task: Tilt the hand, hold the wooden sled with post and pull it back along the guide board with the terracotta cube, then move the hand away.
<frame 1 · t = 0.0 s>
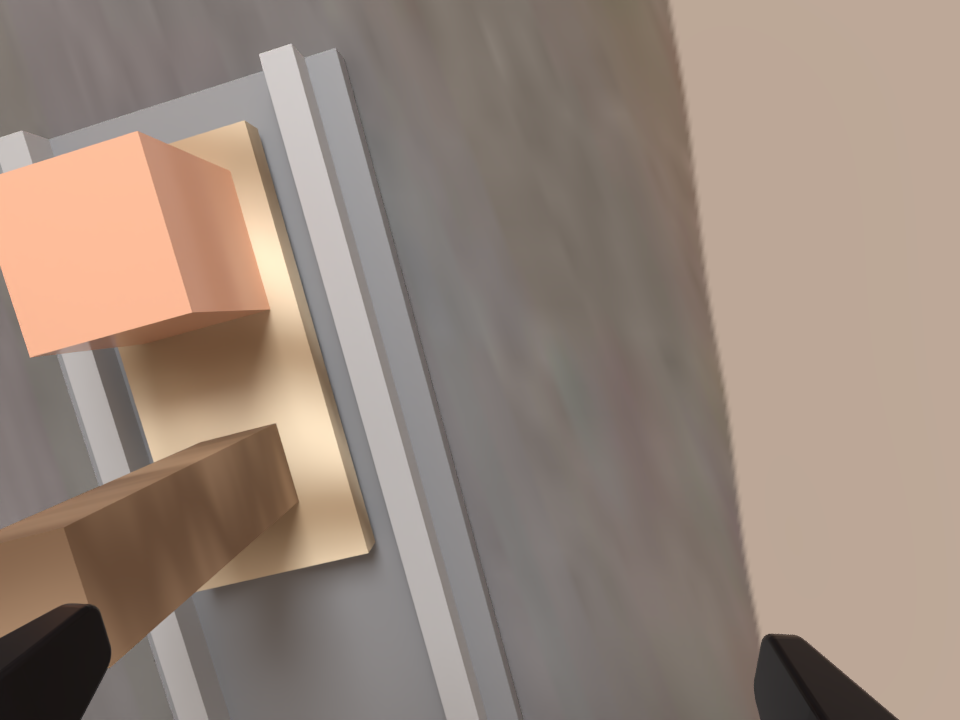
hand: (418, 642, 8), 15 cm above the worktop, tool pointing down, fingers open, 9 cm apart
terracotta cube: (186, 259, 21), point 2 cm above the worktop, touching wooden sled with post
guide board: (282, 478, 24), on the worktop
wooden sled with post: (137, 384, 17), point 7 cm above the worktop, slide at 10.0 cm, touching terracotta cube
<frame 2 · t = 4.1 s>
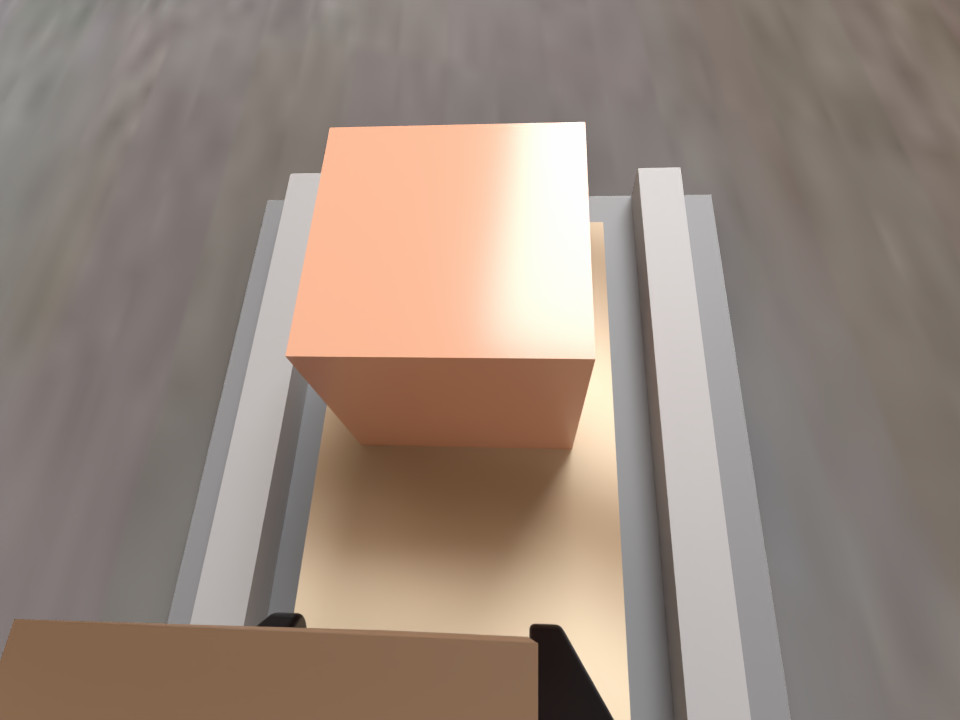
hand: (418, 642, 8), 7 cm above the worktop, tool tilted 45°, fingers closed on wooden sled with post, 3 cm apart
terracotta cube: (470, 351, 15), point 2 cm above the worktop, touching wooden sled with post
wooden sled with post: (434, 457, 9), point 7 cm above the worktop, slide at 10.0 cm, touching gripper, terracotta cube
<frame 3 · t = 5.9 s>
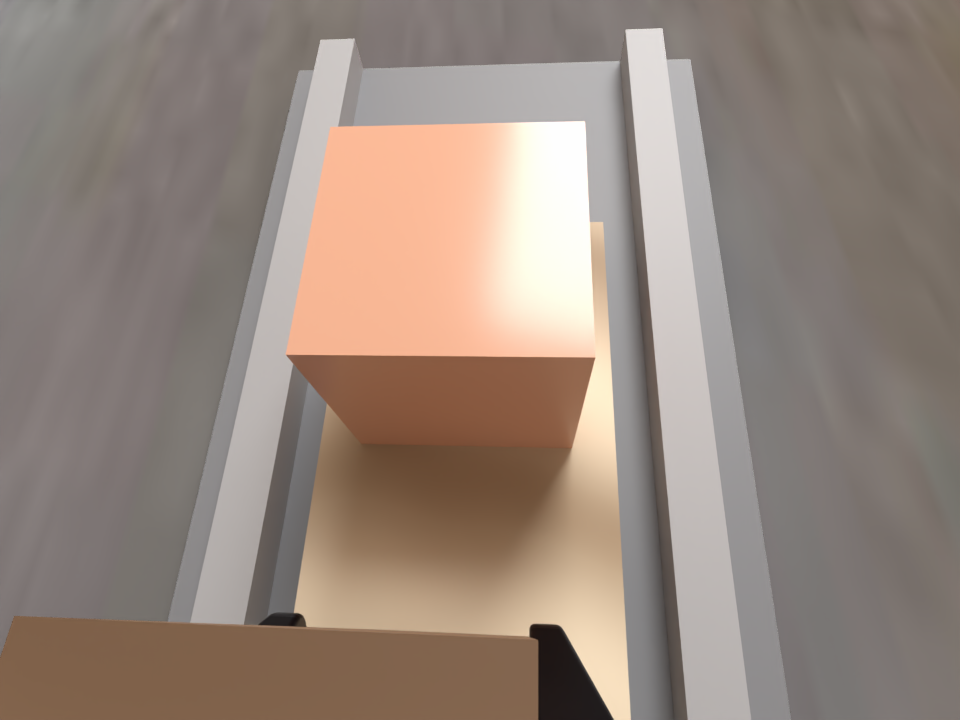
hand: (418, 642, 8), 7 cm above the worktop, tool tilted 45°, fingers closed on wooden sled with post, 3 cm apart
terracotta cube: (470, 350, 15), point 2 cm above the worktop
guide board: (472, 490, 16), on the worktop
wooden sled with post: (434, 457, 9), point 7 cm above the worktop, slide at 4.0 cm, touching gripper
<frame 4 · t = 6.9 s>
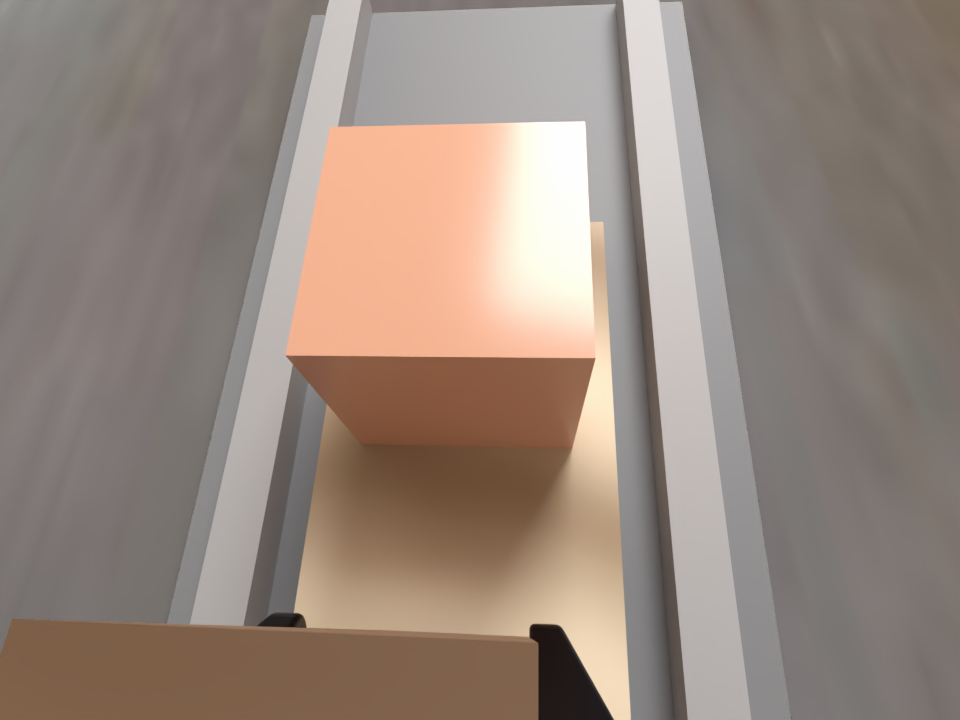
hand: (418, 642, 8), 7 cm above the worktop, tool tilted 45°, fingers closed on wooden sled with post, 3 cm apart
terracotta cube: (470, 350, 15), point 2 cm above the worktop, touching wooden sled with post
guide board: (477, 386, 17), on the worktop
wooden sled with post: (434, 457, 9), point 7 cm above the worktop, slide at 1.0 cm, touching gripper, terracotta cube
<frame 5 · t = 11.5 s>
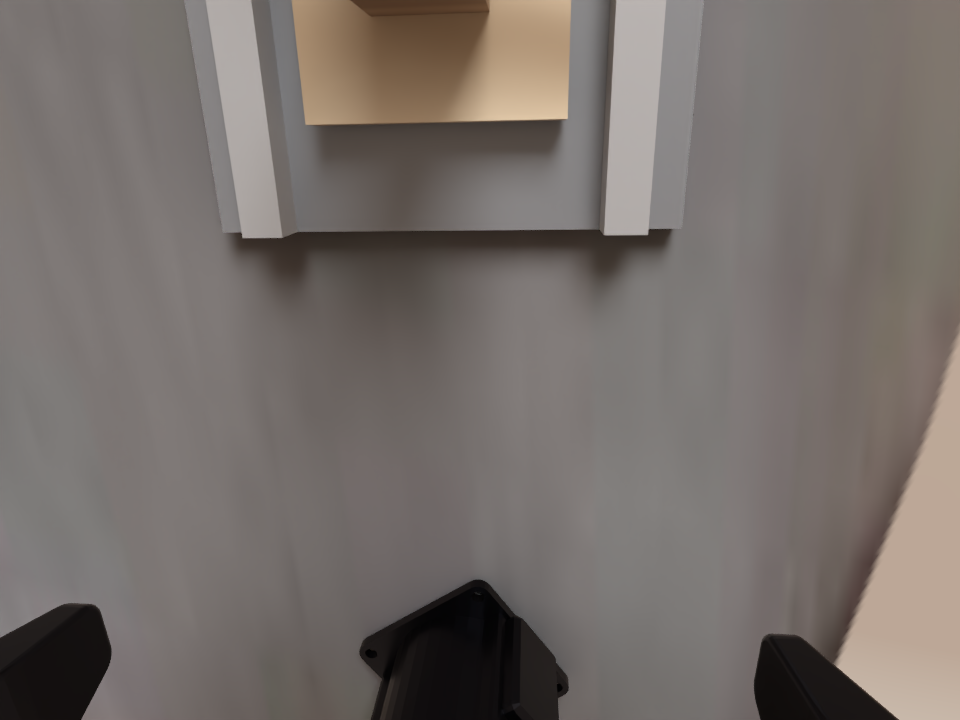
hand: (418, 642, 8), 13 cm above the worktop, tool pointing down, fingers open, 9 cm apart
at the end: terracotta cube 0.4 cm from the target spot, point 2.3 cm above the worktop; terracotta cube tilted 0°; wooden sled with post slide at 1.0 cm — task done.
